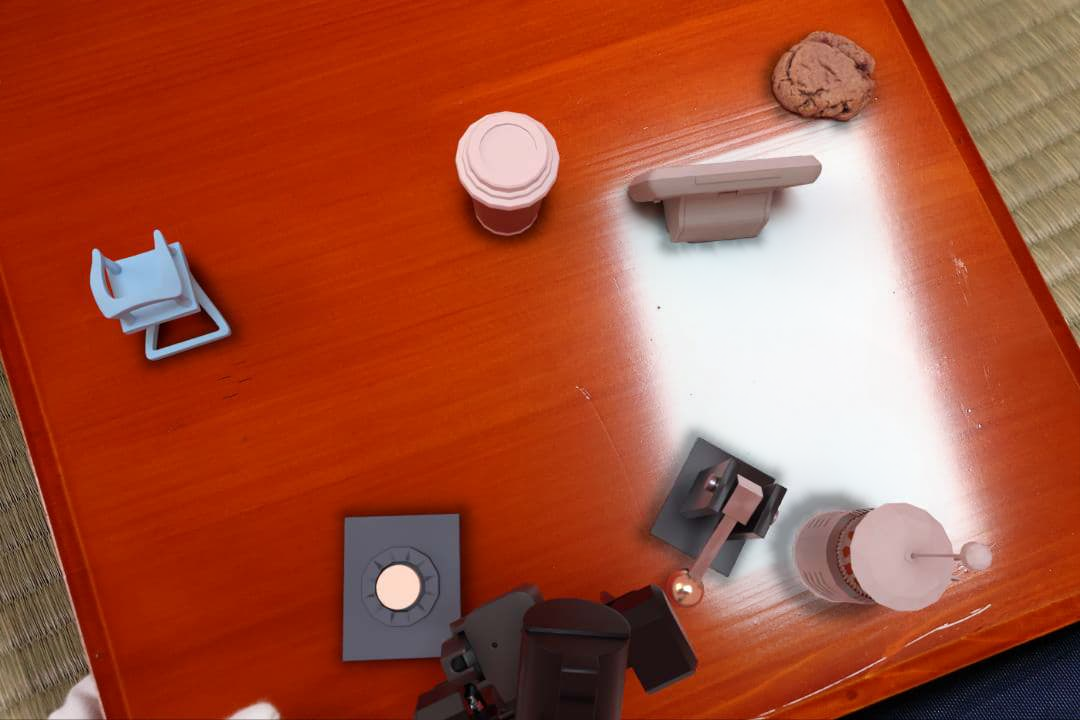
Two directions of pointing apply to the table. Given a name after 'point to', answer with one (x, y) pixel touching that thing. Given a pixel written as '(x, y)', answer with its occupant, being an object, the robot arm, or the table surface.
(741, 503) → the switch lever
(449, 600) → the control box
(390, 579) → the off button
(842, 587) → the french press
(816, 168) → the digital clock
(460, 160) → the coffee cup
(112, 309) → the chair
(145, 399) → the table surface
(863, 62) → the cookie
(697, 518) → the switch bracket
